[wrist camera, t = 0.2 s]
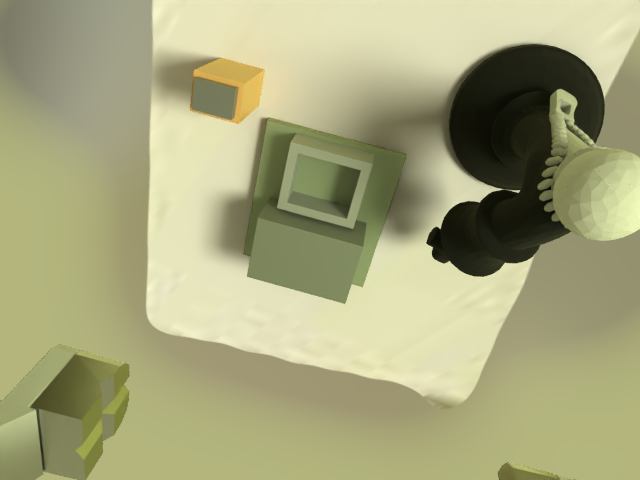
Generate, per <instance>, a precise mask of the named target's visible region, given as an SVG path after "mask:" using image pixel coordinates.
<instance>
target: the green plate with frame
mask: <svg viewBox="0 0 640 480" xmlns="http://www.w3.org/2000/svg"><path fill="white" fill-rule="evenodd" d="M405 159H406V155H405V154H402V153H398V152H394V151H391V150H387V149H383V148H380V147H376V146H372V145H369V144H365V143H361V142H358V141H354V140H350V139H346V138H343V137H339V136H335V135H332V134H328V133H324V132H321V131H317V130H313V129H310V128H306V127H302V126H299V125H295V124H291V123H288V122H284V121H280V120H277V119H273V118H269V119H268V120H267V126H266V131H265V137H264V142H263V148H262V153H261V159H260V165H259V170H258V176H257V181H256V187H255V192H254V198H253V203H252V209H251V215H250V220H249V226H248V231H247V237H246V242H245V248H244V253H243V254H245V255H248V256H251V257H250V263H249V268H248V273H247V277H250V278H254V279H257V280H261V281H265V282H268V283H272V284H275V285H279V286H283V287H286V288H290V289H294V290H297V291H301V292H304V293H308V294H312V295H315V296H319V297H323V298H326V299H330V300H333V301H337V302H341V303H344V304H345V303H346V300H347V296H348V293H349V290H350V287H351V284H353V285H357V286H361V287H363V284H364V281H365V278H366V276H367V273H368V270H369V267H370V264H371V261H372V258H373V255H374V252H375V249H376V246H377V243H378V240H379V237H380V234H381V231H382V228H383V225H384V222H385V219H386V216H387V213H388V210H389V207H390V204H391V201H392V198H393V195H394V192H395V189H396V186H397V183H398V180H399V177H400V174H401V171H402V168H403V165H404V162H405Z"/></svg>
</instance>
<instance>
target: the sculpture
mask: <svg viewBox="0 0 640 480" xmlns="http://www.w3.org/2000/svg"><path fill="white" fill-rule="evenodd" d="M603 119H604V96H603V92H602V89H601V85H600V83H599V81H598V79H597V77H596V75H595V74H594V73H593V71H592V70H591V68H590V67H589V66H588V65H587V64H586V63H585V62H584V61H582V60H581V59H580V58H578V57H577V56H575V55H573V54H571V53H570V52H568V51H565V50H563V49H560V48H557V47H553V46H548V45H539V44H531V45H522V46H517V47H513V48H510V49H507V50H504V51H502V52H500V53H497V54H495V55H493V56H492V57H490V58H489V59H487V60H485V61H484V62H483V63H482V64H480V65H479V66H478V67H477V68H476V69H475V70H474V71H473V72H472V73H471V74H470V75H469V76H468V77H467V78H466V80H465V81H464V82H463V84H462V85H461V87H460V89H459V91H458V92H457V94H456V97H455V99H454V101H453V105H452V108H451V113H450V119H449V130H450V138H451V141H452V145H453V148H454V151H455V153H456V155H457V157H458V159H459V161H460V162H461V164H462V165H463V166H464V167H465V169H466V170H467V171H468V172H469V173H470V174H472V175H473V176H474V177H475V178H477V179H478V180H480V181H482V182H484V183H486V184H488V185H491V186H494V187H496V188H501V189H507V190H500V191H495V192H492V193H490V194H488V195H487V196H486V197H485V198H484V199H482V200H481V202H480V203H479V202H472V201H467V202H463V203H459V204H457V205H456V206H454V207H453V208H452V209H450V210H449V212H448V213H447V214H446V216H445V217H444V220H443V222H442V226H441V229H439V228H438V227H435V228H433V230H432V231H431V232H430V234H429V236H428V239H427V242H426V243H427V244H428V245H430V246H432V247H433V250H432V256H433V258H434V259H435V260H437V261H439V262H441V263H447V262H448V261H450V262H451V263H452V264H453V265H454V266H455V267H457V268H458V269H459V270H460V271H462V272H464V273H465V274H468V275H472V276H480V277H484V276H487V275H491V274H493V273H495V272H496V271H498V270H499V269H500V268H501V267H502V266H503V264H504V263H505V262H506V263H519V262H523V261H526V260H528V259H530V258H532V257H533V255H534V254H535V253H536V252H537V250H538V249H539V247H540V245H541V244H545V243H547V242H550V241H552V240H555V239H557V238H560V237H562V236H564V235H565V234H568V233H569V232H573V233H575V234H577V235H579V236H582V237H585V238H588V239H593V240H598V241H601V240H613V239H618V238H622V237H624V236H627V235H629V234H631V233H633V232H635V231H637V230H638V229H640V157H638V156H636V155H634V154H632V153H630V152H628V151H624V150H621V149H609V148H605V147H597V145H596V144H595V143H596V141H597V138H598V136H599V134H600V131H601V128H602V125H603ZM509 190H520V192H519V193H516V192H512V191H509Z"/></svg>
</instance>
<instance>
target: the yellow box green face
mask: <svg viewBox="0 0 640 480" xmlns="http://www.w3.org/2000/svg"><path fill="white" fill-rule="evenodd" d="M264 72H265V70H264V69H260V68H257V67H253V66H249V65H245V64H242V63H238V62H234V61H231V60H227V59H223V58H219V59H217V60H215V61H213V62H210V63H208V64H206V65H204V66H201V67H199V68H197V69H195V70H194V75H193V85H192V95H191V105H190V111H193V112H197V113H200V114H204V115H208V116H211V117H215V118H219V119H222V120H226V121H230V122H233V123H237V124H239V123H240V122H241V121H242V120H243V119H245V118H246V117H247V116H248V115H249V114H250V113H251V112H252V111H253V110H254V109H256V108H257V107H258V106H259V101H260V95H261V89H262V83H263V78H264Z"/></svg>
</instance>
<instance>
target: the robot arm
mask: <svg viewBox="0 0 640 480" xmlns="http://www.w3.org/2000/svg"><path fill="white" fill-rule="evenodd" d="M128 378H129V365H128V364H127V363H124V362H121V361H117V360H114V359H110V358H107V357H103V356H100V355H97V354H93V353H90V352H86V351H83V350H78V349H75V348H71V347H67V346H64V345H60V344H59V345H57V346H55V347H53V348H52V349H51V350H50V351H49V352H48V353H47V354H46V355H45V356H44V357H43V358H42V359H41V360H40V361H39V362H38V363H37V364H36V366H35V367H34V368H33V369H32V370H31V371H30V372H29V373H28V374H27V375H26V376H25V377H24V378H23V379H22V380H21V381H20V382H19V383H18V384H17V386H16V387H15V388H14V389H13V390H12V391H11V392H10V393H9V394H8V395H7V396H6V397H5V398H4V399H3V400H0V480H35V479H37V478H38V477H40V476H41V475H43V471H44V472H48V473H52V474H56V475H60V476H64V477H69V478H73V479H77V480H86V479H87V477H88V476H89V474H90V472H91V471H92V469H93V468H94V466H95V464H96V463H97V461H98V459H99V458H100V457H101V455H102V453H103V441H104V440H106V439H107V438H109V437H111V436H113V435H114V434H115V433H116V431H117V429H118V428H119V426H120V424H121V422H122V420H123V417H124V415H125V413H126V410H127V406H128V401H129V390H128V389H127V387H126V386H125V385H124V383H125V382H126V380H127V379H128ZM498 478H499V480H575V479H571V478H567V477H563V476H559V475H554V474H552V473H549V472H545V471H540V470H537V469H533V468H529V467H525V466H520V465H516V464H513V463H509V462H507V463H505V464H504V465H502V467H501V468H500V470H499V471H498Z"/></svg>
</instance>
